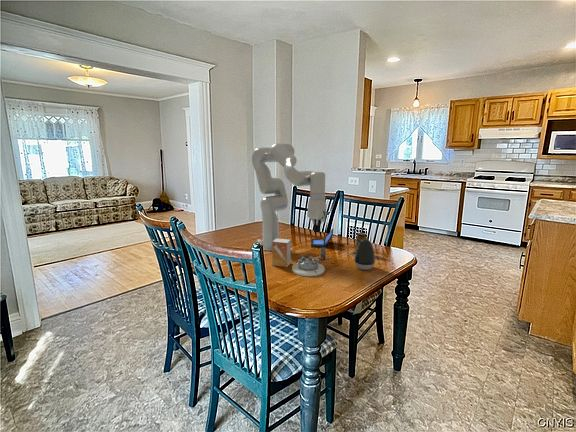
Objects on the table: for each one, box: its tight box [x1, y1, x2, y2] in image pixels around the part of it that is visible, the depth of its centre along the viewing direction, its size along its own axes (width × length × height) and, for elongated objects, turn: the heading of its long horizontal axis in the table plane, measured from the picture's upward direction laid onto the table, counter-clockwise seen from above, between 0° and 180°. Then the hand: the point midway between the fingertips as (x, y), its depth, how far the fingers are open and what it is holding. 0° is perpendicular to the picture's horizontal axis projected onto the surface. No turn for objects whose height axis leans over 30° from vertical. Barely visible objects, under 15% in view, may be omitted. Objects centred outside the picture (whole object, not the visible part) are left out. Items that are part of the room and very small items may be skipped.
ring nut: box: [297, 247, 327, 271], centre depth 157 cm, size 16×10×8 cm, turn 128°
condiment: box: [350, 232, 368, 256], centre depth 181 cm, size 7×8×12 cm
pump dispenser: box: [353, 238, 376, 271], centre depth 158 cm, size 10×10×15 cm
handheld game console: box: [310, 228, 334, 249], centre depth 200 cm, size 16×13×9 cm
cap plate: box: [291, 262, 325, 277], centre depth 156 cm, size 16×16×2 cm
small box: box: [271, 238, 292, 268], centre depth 163 cm, size 8×6×13 cm
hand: (316, 231), depth 163 cm, fingers closed
